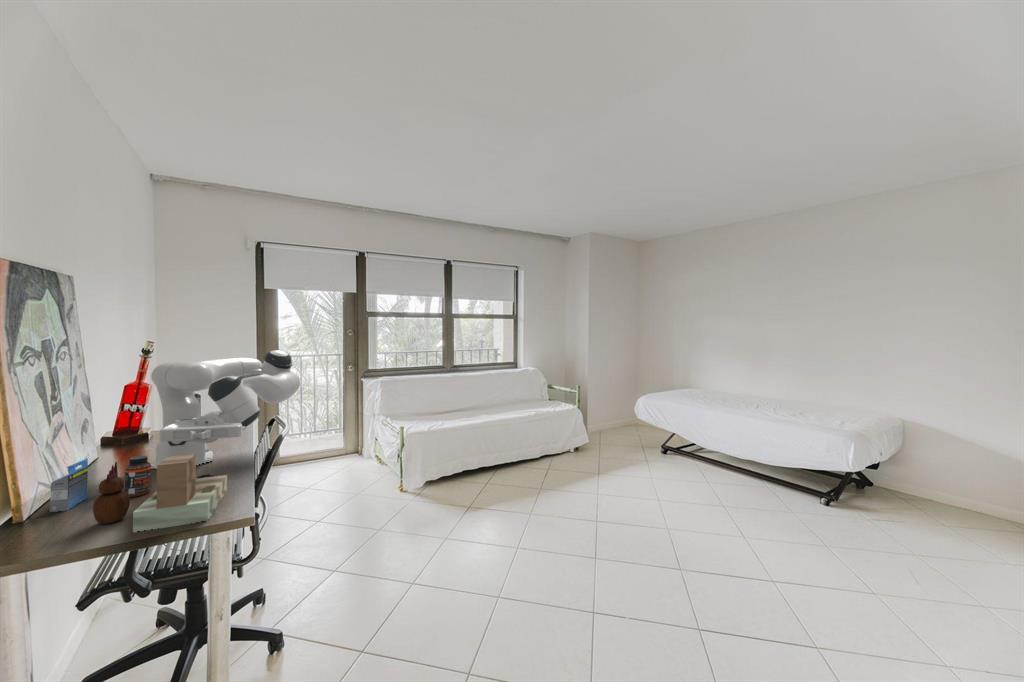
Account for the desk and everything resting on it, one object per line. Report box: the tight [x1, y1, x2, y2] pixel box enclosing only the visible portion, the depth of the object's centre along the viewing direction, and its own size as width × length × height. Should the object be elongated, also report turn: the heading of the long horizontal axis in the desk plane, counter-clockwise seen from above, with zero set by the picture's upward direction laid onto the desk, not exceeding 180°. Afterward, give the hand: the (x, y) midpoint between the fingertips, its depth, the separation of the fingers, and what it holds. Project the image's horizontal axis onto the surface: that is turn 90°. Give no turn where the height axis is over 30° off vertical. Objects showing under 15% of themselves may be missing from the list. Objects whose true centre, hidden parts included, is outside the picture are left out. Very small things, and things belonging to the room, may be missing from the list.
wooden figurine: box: [92, 461, 131, 525], centre depth 104 cm, size 7×6×15 cm
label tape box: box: [49, 457, 89, 513], centre depth 113 cm, size 9×4×12 cm, turn 22°
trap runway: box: [132, 474, 228, 533], centre depth 112 cm, size 23×15×5 cm, turn 25°
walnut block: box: [156, 454, 197, 509], centre depth 105 cm, size 8×6×11 cm
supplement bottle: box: [124, 455, 152, 498], centre depth 122 cm, size 6×6×11 cm
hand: (197, 436), depth 117 cm, fingers closed
